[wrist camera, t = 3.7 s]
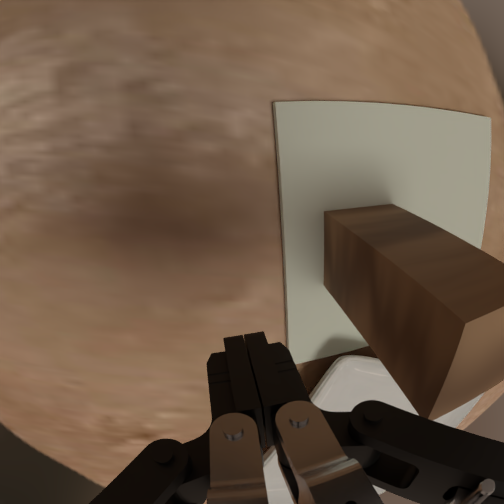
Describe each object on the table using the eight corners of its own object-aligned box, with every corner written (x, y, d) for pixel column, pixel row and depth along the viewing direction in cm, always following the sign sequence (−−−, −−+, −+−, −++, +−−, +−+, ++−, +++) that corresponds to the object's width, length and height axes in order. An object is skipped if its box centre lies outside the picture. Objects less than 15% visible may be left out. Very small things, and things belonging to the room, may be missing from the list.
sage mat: (272, 102, 16) (275, 102, 16) (485, 117, 18) (491, 118, 18) (287, 360, 23) (289, 365, 23) (461, 310, 26) (465, 313, 25)
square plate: (324, 325, 23) (344, 357, 20) (485, 356, 31) (502, 373, 28) (213, 488, 31) (217, 513, 28) (374, 479, 39) (383, 496, 35)
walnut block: (323, 211, 19) (465, 323, 8) (392, 203, 19) (541, 287, 8) (323, 285, 21) (425, 424, 10) (387, 272, 21) (502, 380, 10)
